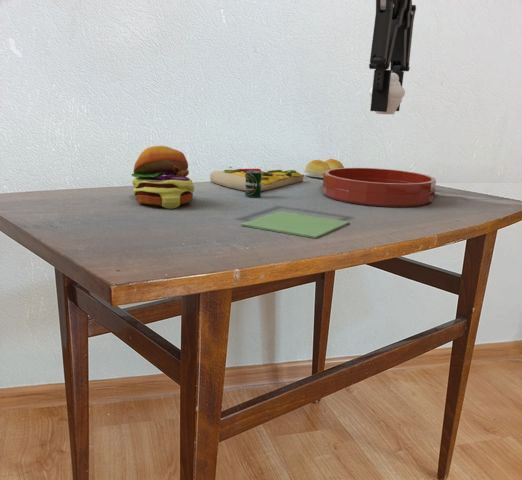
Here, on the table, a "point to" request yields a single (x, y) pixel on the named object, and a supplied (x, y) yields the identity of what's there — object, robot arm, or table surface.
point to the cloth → (296, 224)
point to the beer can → (253, 184)
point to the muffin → (392, 95)
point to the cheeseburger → (162, 178)
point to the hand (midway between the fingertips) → (385, 110)
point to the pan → (378, 187)
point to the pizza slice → (268, 179)
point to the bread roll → (321, 167)
